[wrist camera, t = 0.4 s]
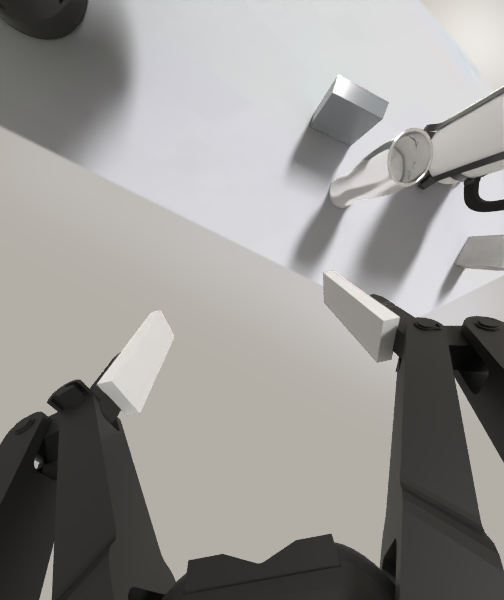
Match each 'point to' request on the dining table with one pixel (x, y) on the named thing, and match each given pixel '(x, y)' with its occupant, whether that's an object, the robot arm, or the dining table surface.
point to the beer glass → (385, 169)
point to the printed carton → (483, 253)
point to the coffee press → (469, 149)
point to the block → (348, 111)
